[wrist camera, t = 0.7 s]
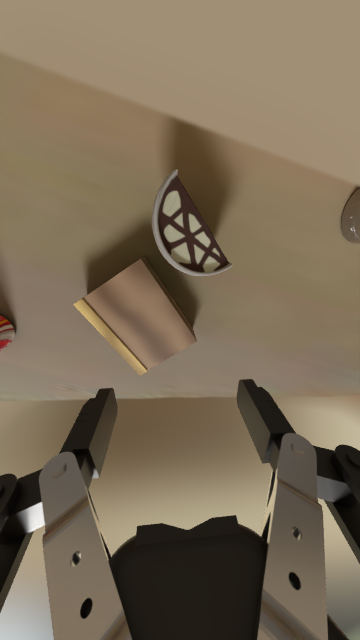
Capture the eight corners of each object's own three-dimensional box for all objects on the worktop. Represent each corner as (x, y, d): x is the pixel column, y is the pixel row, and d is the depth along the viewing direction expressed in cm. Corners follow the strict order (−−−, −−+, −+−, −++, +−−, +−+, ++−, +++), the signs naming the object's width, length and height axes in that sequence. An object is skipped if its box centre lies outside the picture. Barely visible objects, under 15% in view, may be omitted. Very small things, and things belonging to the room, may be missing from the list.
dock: (143, 255, 30) (140, 258, 25) (192, 328, 36) (197, 342, 31) (87, 294, 32) (73, 304, 27) (142, 358, 38) (139, 375, 33)
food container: (137, 217, 28) (125, 206, 19) (169, 189, 27) (173, 163, 17) (185, 282, 32) (194, 298, 23) (214, 260, 31) (235, 268, 22)
